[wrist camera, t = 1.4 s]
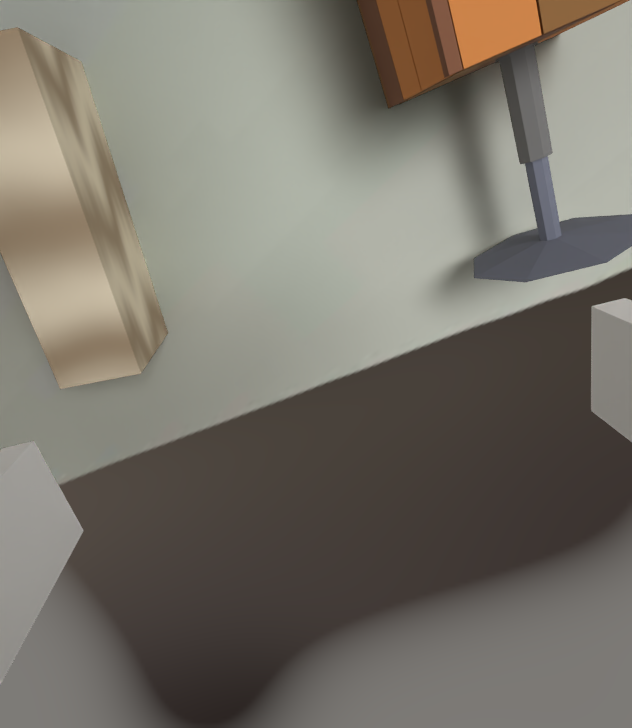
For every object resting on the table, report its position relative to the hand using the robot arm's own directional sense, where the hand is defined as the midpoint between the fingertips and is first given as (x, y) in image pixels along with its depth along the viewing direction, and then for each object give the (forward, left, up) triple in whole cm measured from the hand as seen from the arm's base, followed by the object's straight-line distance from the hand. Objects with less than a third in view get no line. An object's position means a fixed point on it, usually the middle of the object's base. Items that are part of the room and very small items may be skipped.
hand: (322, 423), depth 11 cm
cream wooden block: (-5, -12, -22) cm, 25 cm away
